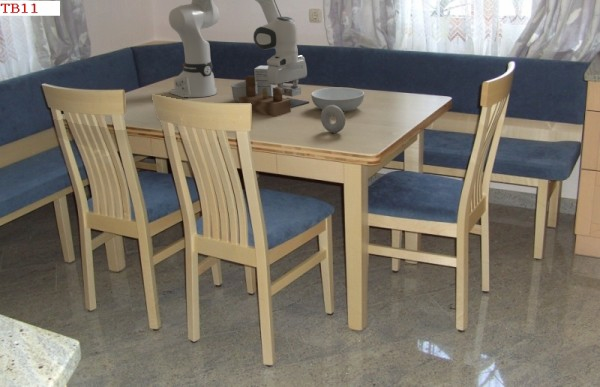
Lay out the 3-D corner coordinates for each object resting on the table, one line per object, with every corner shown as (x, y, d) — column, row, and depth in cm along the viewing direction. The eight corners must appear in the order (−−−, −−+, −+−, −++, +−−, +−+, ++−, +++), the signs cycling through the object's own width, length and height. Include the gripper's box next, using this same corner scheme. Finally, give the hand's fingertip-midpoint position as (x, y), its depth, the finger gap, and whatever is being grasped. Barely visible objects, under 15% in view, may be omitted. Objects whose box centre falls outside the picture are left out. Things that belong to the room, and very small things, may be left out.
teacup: (254, 105, 305) (253, 86, 302) (229, 105, 307) (227, 85, 304) (262, 97, 318) (261, 79, 315) (238, 97, 320) (237, 79, 317)
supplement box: (260, 93, 325) (259, 65, 321) (276, 94, 323) (275, 65, 319) (255, 97, 318) (253, 68, 314) (271, 98, 316) (270, 68, 312)
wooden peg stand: (239, 109, 299) (237, 77, 295) (255, 105, 306) (253, 73, 301) (275, 116, 287) (273, 83, 282) (290, 111, 293) (289, 79, 288)
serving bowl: (304, 114, 288) (303, 97, 286) (321, 102, 307) (321, 86, 304) (355, 118, 281) (355, 100, 279) (370, 105, 300) (370, 88, 297)
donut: (319, 131, 264) (318, 104, 261) (324, 129, 267) (324, 102, 263) (341, 136, 258) (341, 107, 255) (347, 133, 261) (347, 105, 257)
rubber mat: (268, 104, 305) (268, 103, 305) (287, 99, 314) (287, 97, 313) (289, 108, 298) (289, 107, 298) (309, 103, 306) (309, 101, 306)
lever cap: (276, 93, 305) (275, 84, 304) (285, 91, 309) (284, 82, 308) (292, 96, 299) (292, 87, 298) (301, 94, 303) (301, 85, 302)
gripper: (298, 53, 308) (299, 86, 313) (264, 61, 294) (265, 95, 299) (309, 55, 304) (310, 88, 309) (275, 62, 290) (276, 97, 295)
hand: (288, 91), depth 304 cm, fingers closed on lever cap, 5 cm apart
